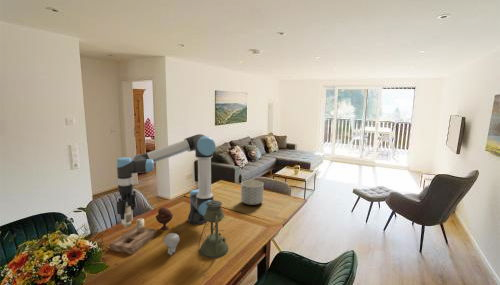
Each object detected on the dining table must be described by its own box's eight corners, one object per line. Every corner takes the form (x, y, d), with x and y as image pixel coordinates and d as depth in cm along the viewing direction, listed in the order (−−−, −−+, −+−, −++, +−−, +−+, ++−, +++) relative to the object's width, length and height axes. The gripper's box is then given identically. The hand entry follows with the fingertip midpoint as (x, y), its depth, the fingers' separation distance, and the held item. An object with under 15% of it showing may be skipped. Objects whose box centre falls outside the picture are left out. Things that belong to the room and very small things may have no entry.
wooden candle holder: (156, 235, 166) (155, 218, 164) (133, 254, 145) (131, 235, 143) (135, 231, 170) (135, 214, 168) (110, 249, 149) (108, 231, 147)
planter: (266, 202, 224) (267, 182, 221) (255, 209, 208) (256, 188, 205) (248, 197, 234) (249, 178, 231) (236, 204, 218) (237, 184, 215)
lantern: (231, 257, 144) (232, 207, 139) (200, 262, 139) (199, 211, 134) (224, 238, 164) (225, 194, 159) (197, 242, 159) (196, 196, 154)
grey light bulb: (171, 248, 151) (171, 230, 150) (182, 251, 149) (181, 232, 147) (162, 256, 144) (161, 236, 142) (172, 259, 141) (172, 239, 139)
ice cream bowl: (157, 234, 167) (156, 212, 165) (155, 226, 177) (154, 206, 175) (174, 230, 172) (173, 209, 170) (171, 223, 182) (170, 203, 179)
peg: (133, 224, 152) (132, 206, 150) (128, 228, 148) (127, 209, 146) (127, 223, 154) (126, 204, 152) (121, 227, 149) (120, 208, 147)
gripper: (130, 179, 156) (132, 214, 160) (107, 188, 139) (110, 227, 143) (141, 180, 154) (142, 216, 158) (119, 189, 137) (121, 230, 141)
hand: (127, 221), depth 150 cm, fingers closed on peg, 5 cm apart
